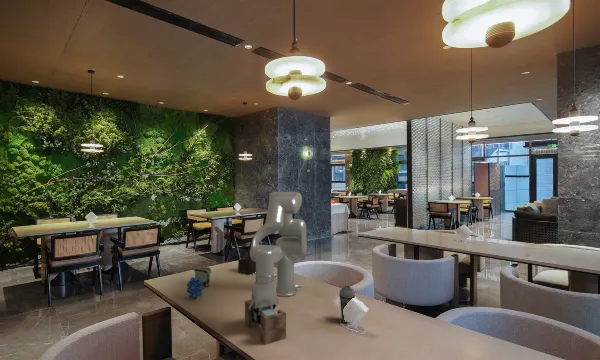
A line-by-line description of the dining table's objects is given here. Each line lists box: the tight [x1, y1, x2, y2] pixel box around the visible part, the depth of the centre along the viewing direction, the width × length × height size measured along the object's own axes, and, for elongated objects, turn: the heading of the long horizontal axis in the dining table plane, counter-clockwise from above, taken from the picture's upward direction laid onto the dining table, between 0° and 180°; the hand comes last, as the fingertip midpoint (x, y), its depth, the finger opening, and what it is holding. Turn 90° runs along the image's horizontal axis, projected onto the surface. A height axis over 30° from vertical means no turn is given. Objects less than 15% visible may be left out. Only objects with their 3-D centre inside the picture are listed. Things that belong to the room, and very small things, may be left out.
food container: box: [193, 266, 212, 288], centre depth 191 cm, size 12×6×10 cm, turn 58°
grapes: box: [186, 276, 205, 300], centre depth 169 cm, size 12×7×12 cm, turn 63°
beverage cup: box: [338, 275, 356, 323], centre depth 142 cm, size 7×7×20 cm
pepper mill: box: [237, 248, 256, 276], centre depth 217 cm, size 16×11×18 cm
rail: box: [252, 305, 277, 320], centre depth 132 cm, size 4×16×6 cm, turn 32°
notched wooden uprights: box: [244, 299, 287, 345], centre depth 132 cm, size 9×21×10 cm, turn 32°
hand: (264, 321), depth 132 cm, fingers closed on rail, 4 cm apart
